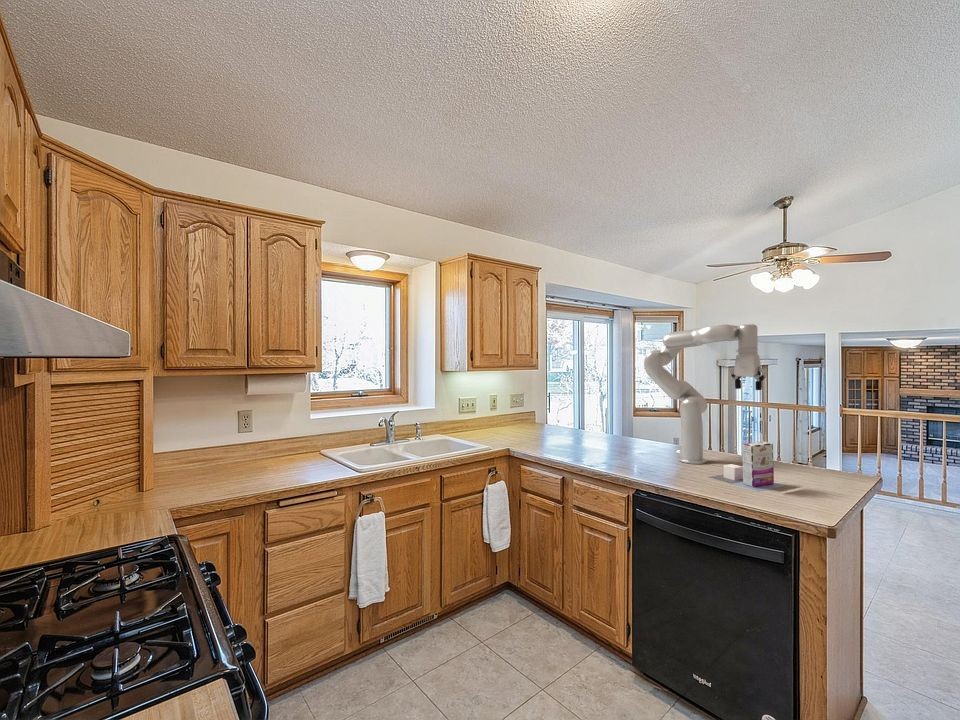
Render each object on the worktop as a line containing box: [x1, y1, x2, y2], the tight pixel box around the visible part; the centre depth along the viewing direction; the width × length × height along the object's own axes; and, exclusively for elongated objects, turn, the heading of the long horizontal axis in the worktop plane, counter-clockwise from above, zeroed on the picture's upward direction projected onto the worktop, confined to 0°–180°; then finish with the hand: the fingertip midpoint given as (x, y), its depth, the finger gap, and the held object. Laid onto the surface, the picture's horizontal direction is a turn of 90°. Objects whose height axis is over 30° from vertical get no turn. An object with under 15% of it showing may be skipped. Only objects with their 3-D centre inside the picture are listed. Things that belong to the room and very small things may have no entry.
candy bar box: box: [741, 441, 775, 487], centre depth 179 cm, size 11×5×16 cm, turn 108°
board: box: [708, 473, 786, 492], centre depth 184 cm, size 22×16×1 cm
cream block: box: [722, 463, 743, 480], centre depth 189 cm, size 5×5×5 cm
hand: (748, 389), depth 205 cm, fingers open, 9 cm apart
